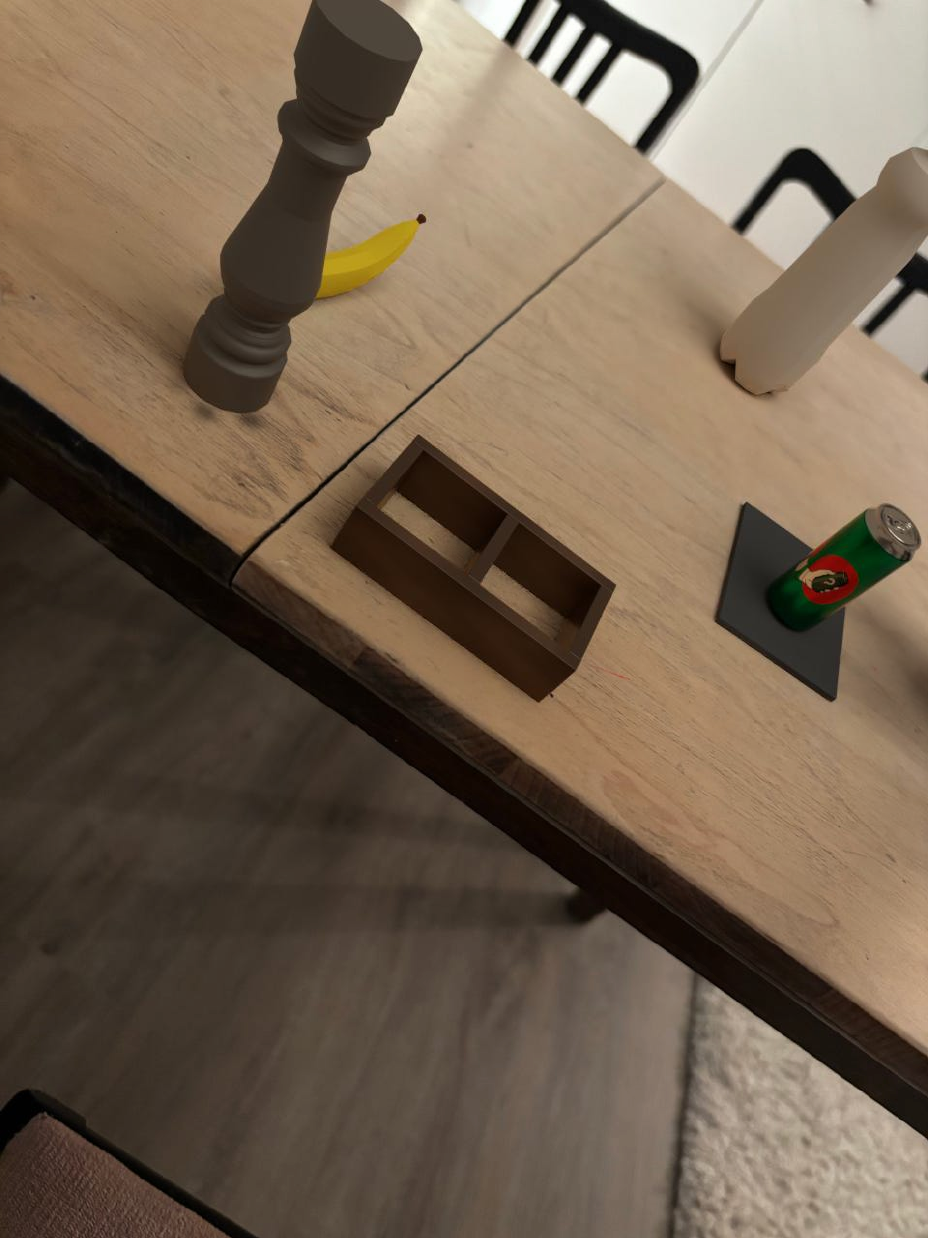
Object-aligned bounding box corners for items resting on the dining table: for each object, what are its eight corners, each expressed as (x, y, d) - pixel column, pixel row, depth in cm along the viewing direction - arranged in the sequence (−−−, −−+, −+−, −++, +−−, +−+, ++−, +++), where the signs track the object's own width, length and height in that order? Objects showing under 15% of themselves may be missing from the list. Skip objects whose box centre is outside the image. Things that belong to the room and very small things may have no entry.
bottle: (794, 402, 101) (1049, 161, 80) (743, 404, 96) (1001, 146, 74) (750, 339, 104) (984, 89, 83) (698, 337, 99) (933, 69, 77)
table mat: (831, 702, 77) (836, 699, 77) (714, 621, 75) (719, 617, 75) (844, 578, 88) (848, 574, 87) (742, 504, 86) (746, 500, 86)
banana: (194, 298, 67) (218, 225, 62) (382, 264, 80) (414, 201, 75) (217, 328, 66) (244, 257, 62) (403, 289, 79) (436, 227, 74)
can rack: (581, 618, 68) (617, 584, 65) (539, 703, 62) (576, 670, 59) (391, 474, 67) (418, 433, 64) (329, 547, 61) (355, 505, 58)
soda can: (813, 643, 79) (931, 563, 70) (766, 620, 78) (880, 536, 69) (807, 596, 82) (919, 515, 73) (761, 574, 81) (870, 488, 72)
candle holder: (236, 335, 67) (373, -19, 49) (290, 399, 66) (450, 63, 48) (163, 354, 63) (283, -25, 44) (220, 423, 62) (366, 65, 44)
